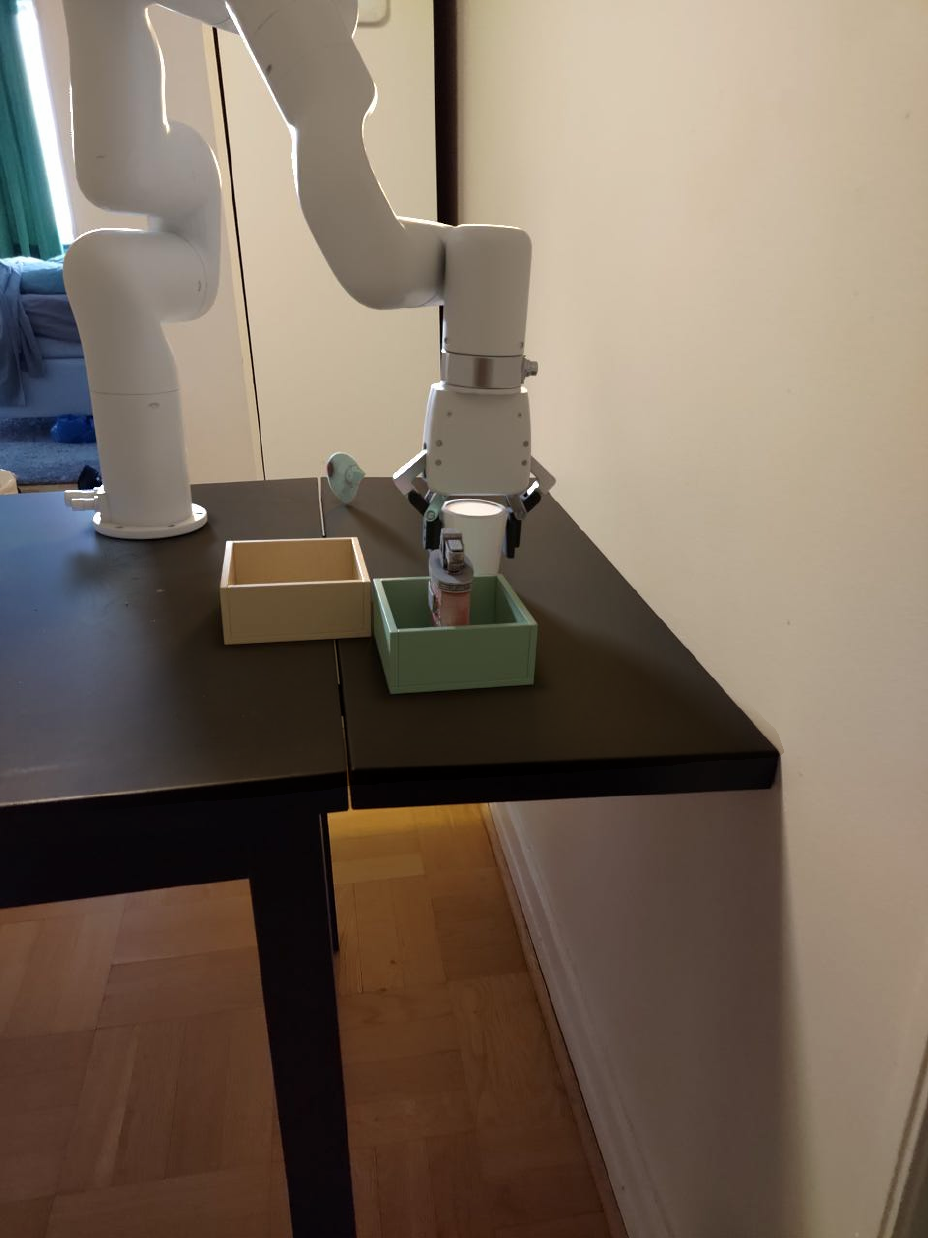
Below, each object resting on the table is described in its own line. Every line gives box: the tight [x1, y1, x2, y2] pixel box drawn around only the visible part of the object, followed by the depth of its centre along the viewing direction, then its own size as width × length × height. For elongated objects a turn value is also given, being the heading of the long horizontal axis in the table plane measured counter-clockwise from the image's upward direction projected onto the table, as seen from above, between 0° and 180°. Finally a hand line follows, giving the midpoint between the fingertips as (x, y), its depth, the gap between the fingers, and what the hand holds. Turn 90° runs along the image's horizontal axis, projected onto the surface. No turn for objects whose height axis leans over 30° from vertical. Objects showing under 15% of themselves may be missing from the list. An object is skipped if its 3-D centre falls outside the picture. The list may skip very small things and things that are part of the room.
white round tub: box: [439, 498, 508, 575], centre depth 85 cm, size 7×7×7 cm
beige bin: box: [219, 536, 372, 646], centre depth 76 cm, size 12×12×5 cm
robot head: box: [325, 451, 367, 504], centre depth 110 cm, size 8×4×7 cm, turn 31°
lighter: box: [428, 528, 474, 628], centre depth 68 cm, size 8×3×10 cm, turn 7°
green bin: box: [372, 573, 539, 695], centre depth 69 cm, size 11×11×5 cm
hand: (470, 553), depth 85 cm, fingers closed on white round tub, 6 cm apart
